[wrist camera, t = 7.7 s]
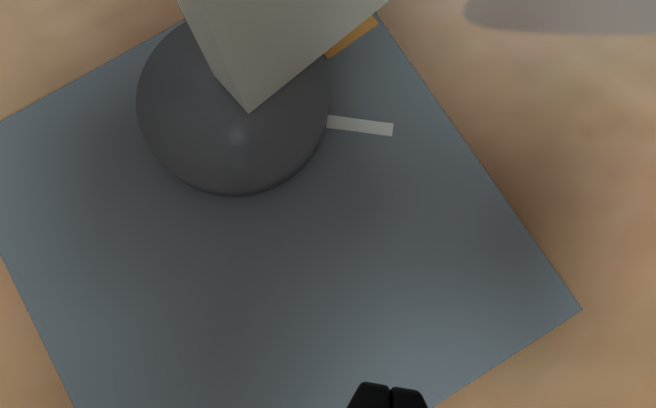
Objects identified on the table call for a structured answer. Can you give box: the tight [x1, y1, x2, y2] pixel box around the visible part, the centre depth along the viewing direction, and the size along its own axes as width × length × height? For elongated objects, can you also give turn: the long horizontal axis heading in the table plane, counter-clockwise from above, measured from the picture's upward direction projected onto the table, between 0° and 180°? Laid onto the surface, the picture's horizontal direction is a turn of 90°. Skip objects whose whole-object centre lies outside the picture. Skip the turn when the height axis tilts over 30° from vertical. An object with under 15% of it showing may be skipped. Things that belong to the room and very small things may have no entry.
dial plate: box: [0, 12, 583, 408], centre depth 22 cm, size 18×17×1 cm
